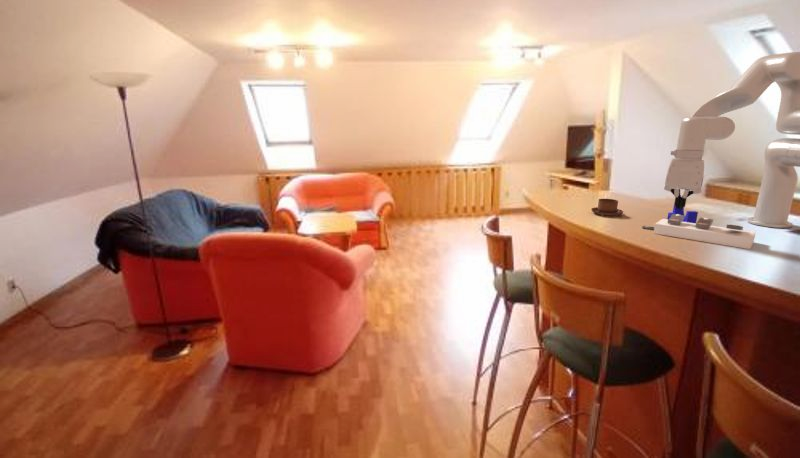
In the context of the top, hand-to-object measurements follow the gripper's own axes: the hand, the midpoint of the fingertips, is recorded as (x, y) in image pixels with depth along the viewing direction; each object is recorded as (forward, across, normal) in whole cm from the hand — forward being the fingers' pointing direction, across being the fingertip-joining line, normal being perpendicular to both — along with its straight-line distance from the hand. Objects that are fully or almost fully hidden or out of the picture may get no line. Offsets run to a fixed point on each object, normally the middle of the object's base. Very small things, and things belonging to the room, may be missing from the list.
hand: (679, 208), depth 141 cm
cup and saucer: (+9, -27, +13) cm, 31 cm away
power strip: (+9, +6, -2) cm, 10 cm away
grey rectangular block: (+3, +16, -2) cm, 17 cm away
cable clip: (+9, -1, +16) cm, 18 cm away
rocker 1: (+4, +8, -2) cm, 9 cm away
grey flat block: (+4, 0, -2) cm, 4 cm away
